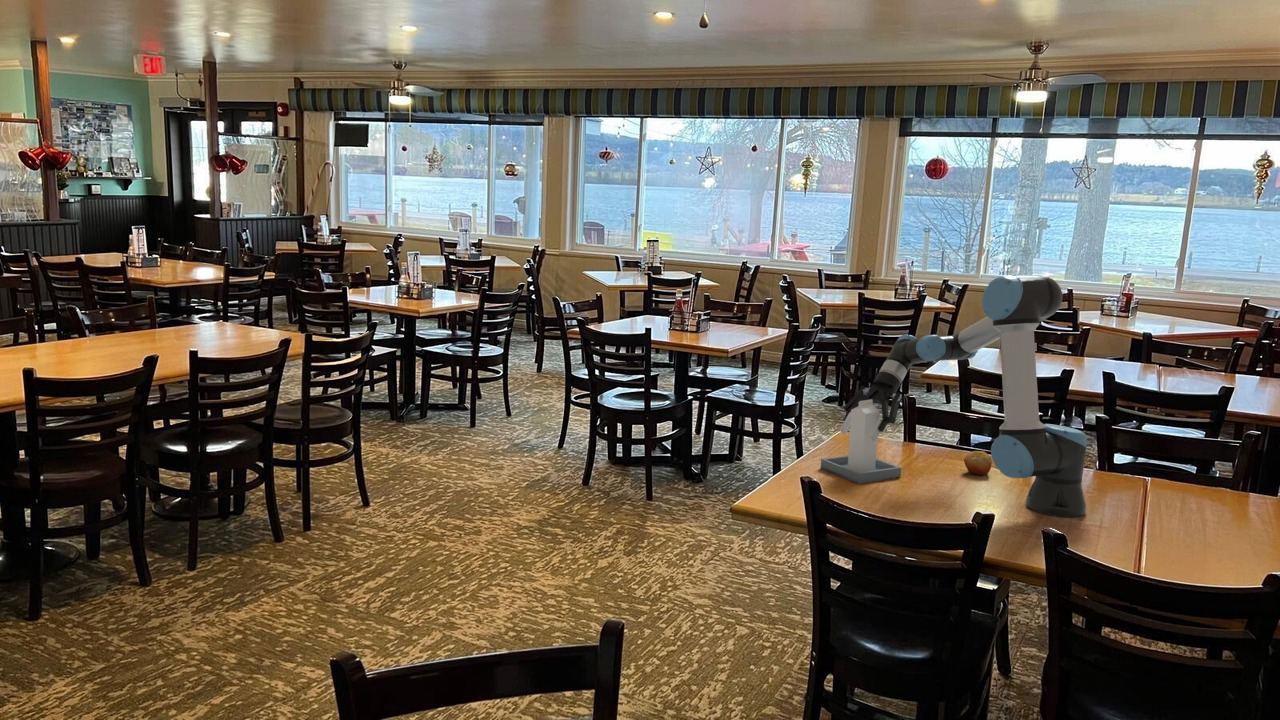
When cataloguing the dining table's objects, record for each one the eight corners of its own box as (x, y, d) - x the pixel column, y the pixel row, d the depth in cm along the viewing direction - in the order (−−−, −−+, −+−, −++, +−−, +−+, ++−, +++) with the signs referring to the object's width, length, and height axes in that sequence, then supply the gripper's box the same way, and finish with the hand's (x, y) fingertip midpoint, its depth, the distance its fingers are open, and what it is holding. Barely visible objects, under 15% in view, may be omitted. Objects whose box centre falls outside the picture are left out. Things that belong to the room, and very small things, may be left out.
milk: (847, 469, 288) (851, 399, 284) (861, 466, 291) (865, 397, 287) (861, 474, 283) (866, 403, 279) (875, 471, 286) (880, 401, 282)
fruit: (995, 467, 293) (994, 448, 288) (988, 484, 288) (988, 466, 283) (968, 462, 297) (967, 444, 293) (962, 479, 292) (960, 461, 288)
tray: (900, 477, 284) (901, 467, 283) (857, 483, 276) (858, 474, 275) (862, 462, 299) (863, 453, 298) (820, 468, 291) (821, 459, 290)
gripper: (926, 391, 285) (894, 450, 277) (863, 379, 301) (831, 434, 293) (918, 376, 281) (885, 435, 273) (854, 365, 297) (822, 420, 289)
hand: (857, 434), depth 283 cm, fingers open, 10 cm apart
